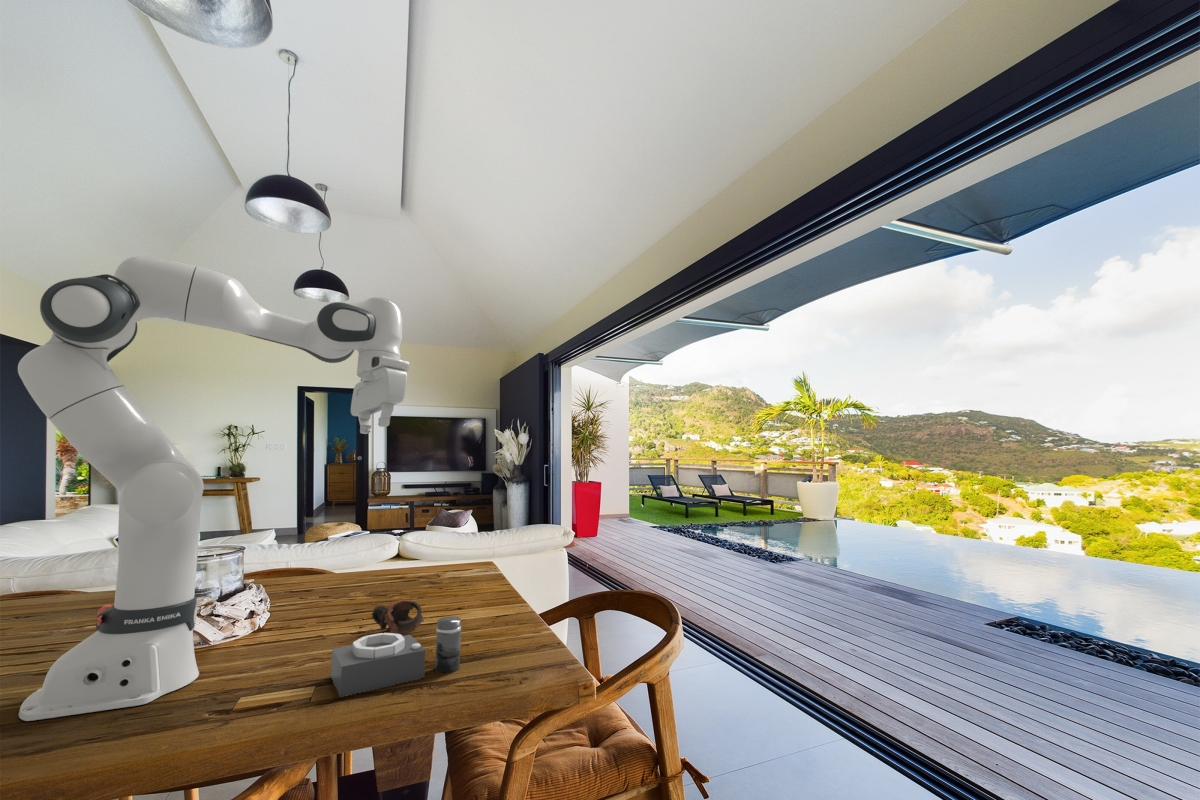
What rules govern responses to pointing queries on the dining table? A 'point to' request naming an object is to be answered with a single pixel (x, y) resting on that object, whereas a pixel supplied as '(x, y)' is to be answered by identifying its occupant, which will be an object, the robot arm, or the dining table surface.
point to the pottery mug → (398, 617)
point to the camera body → (376, 663)
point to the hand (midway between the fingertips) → (374, 429)
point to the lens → (448, 644)
